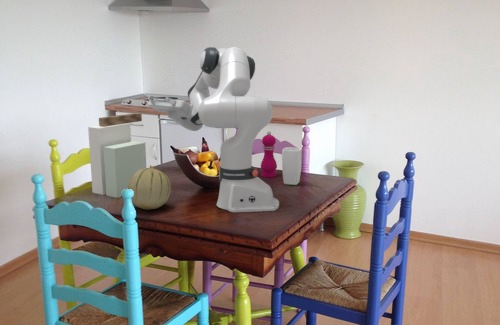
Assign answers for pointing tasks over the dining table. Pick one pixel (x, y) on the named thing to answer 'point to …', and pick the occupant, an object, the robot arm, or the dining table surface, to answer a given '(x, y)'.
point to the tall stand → (97, 141)
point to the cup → (291, 165)
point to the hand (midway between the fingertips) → (157, 98)
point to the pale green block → (122, 165)
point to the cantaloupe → (149, 188)
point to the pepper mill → (268, 156)
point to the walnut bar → (120, 119)
